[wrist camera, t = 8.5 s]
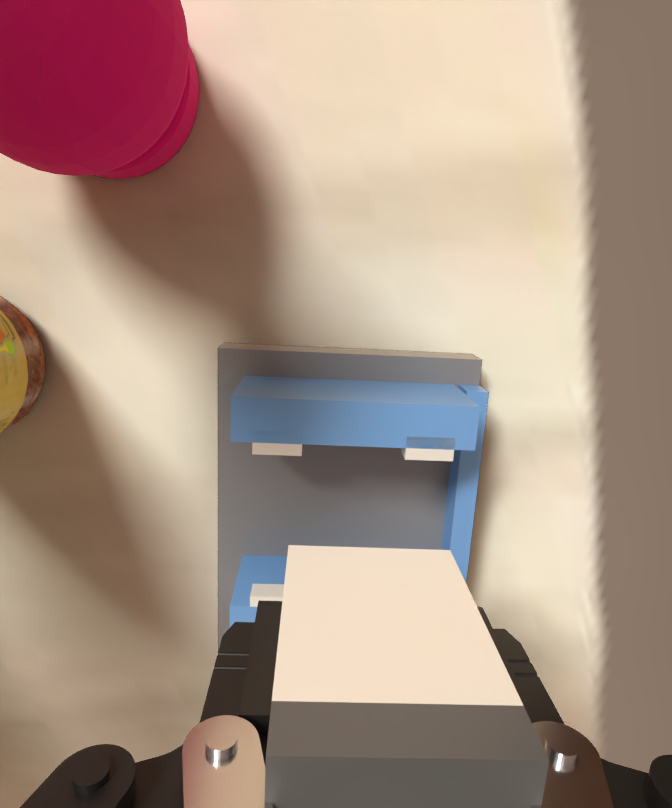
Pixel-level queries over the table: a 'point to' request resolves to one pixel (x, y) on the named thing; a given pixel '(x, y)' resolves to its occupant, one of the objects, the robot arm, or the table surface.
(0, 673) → the table surface
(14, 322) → the sauce bottle
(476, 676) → the grey block
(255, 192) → the table surface
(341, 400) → the grey fixture board
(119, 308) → the table surface
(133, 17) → the pepper mill
